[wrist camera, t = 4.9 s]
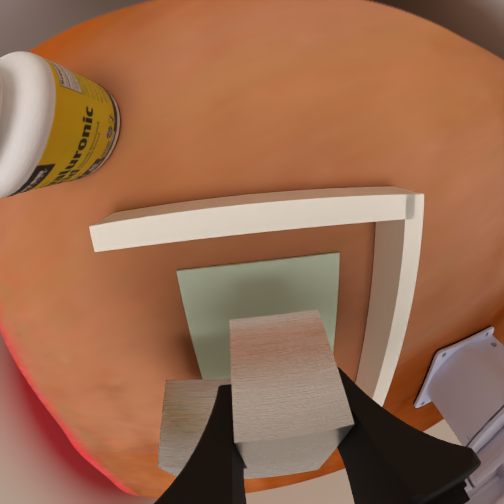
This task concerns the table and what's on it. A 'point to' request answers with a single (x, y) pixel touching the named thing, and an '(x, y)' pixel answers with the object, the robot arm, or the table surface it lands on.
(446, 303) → the table surface
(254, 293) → the mat
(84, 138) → the supplement bottle
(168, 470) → the bracket
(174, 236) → the arena
